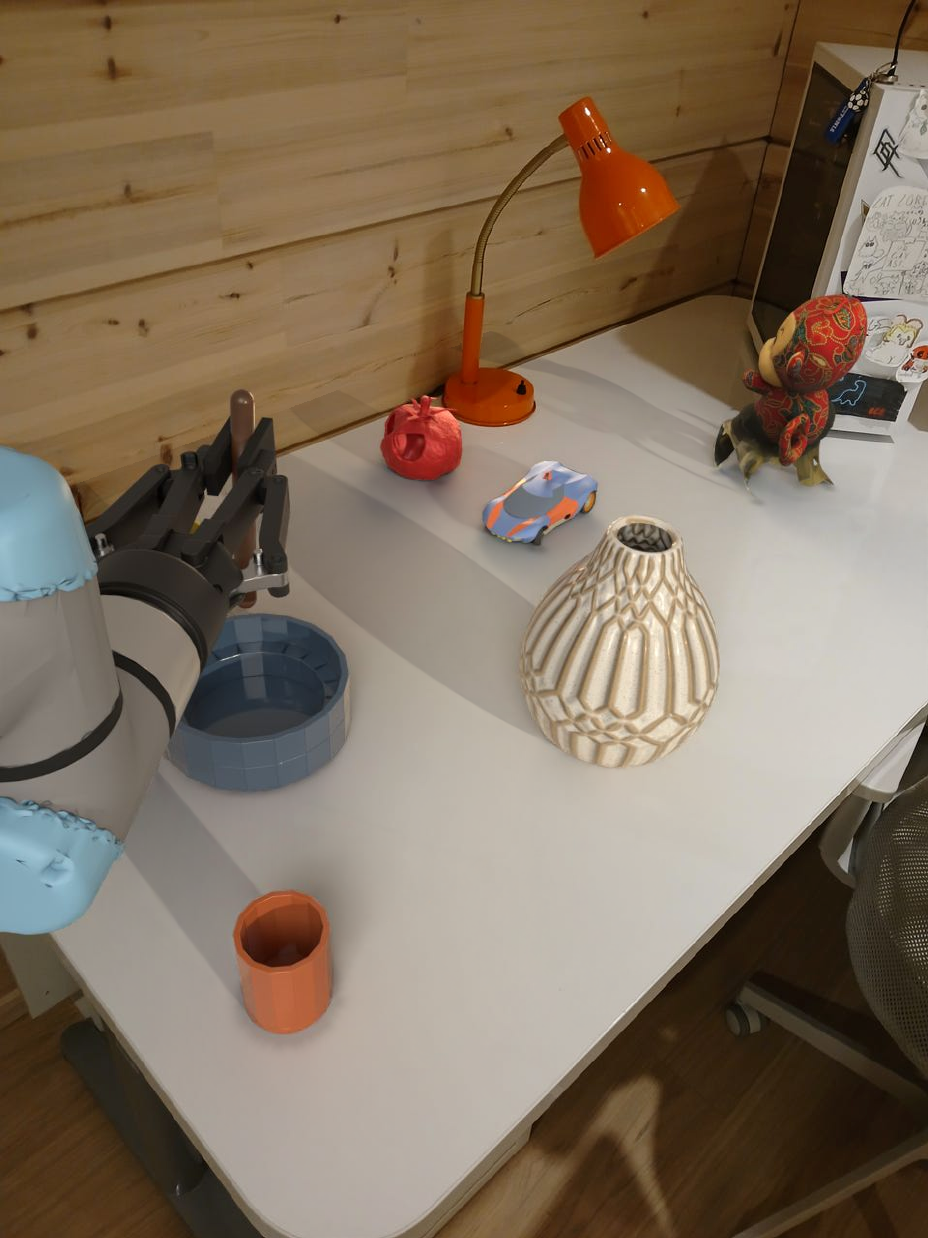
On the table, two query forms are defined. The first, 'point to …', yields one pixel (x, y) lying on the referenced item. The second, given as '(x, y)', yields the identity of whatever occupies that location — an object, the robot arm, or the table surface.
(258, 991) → the holder
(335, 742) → the bowl
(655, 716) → the vase
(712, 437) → the table surface
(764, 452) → the stuffed monkey
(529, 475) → the toy car
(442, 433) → the pomegranate
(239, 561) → the stick
